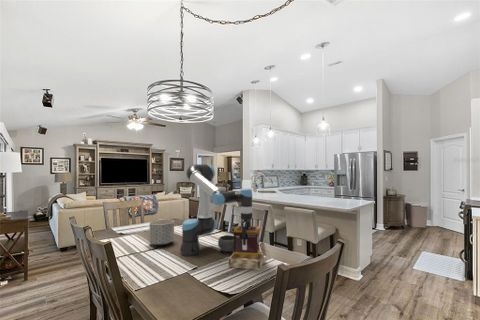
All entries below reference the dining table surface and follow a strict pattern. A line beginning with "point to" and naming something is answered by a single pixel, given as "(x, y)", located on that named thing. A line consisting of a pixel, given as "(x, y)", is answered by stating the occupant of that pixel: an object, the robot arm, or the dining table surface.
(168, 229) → the planter
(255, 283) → the dining table surface
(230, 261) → the crate
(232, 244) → the bowl
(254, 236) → the supplement box
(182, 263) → the dining table surface
